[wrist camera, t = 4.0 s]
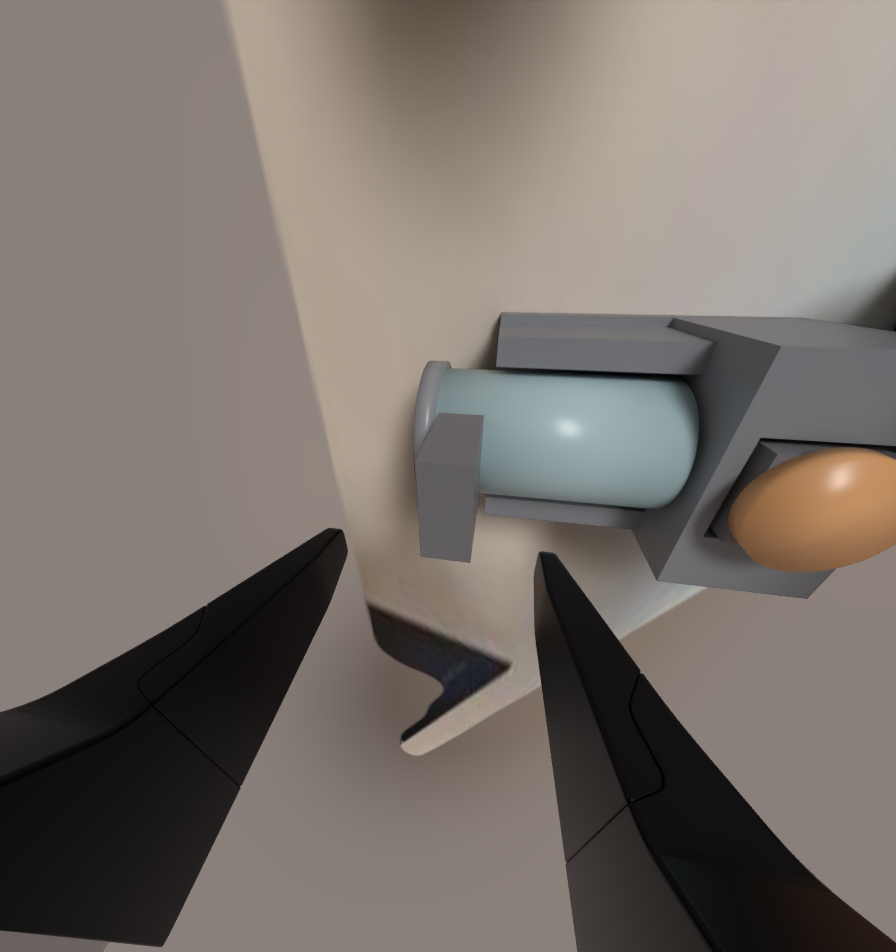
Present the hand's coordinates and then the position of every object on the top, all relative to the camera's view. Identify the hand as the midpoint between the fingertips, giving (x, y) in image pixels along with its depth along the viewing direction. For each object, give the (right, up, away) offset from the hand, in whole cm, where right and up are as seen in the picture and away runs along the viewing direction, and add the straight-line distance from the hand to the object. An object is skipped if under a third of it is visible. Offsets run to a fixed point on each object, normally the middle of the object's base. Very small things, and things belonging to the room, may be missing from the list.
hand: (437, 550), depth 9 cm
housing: (+9, +6, +10) cm, 14 cm away
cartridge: (+5, +6, +9) cm, 12 cm away
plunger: (+13, +3, +4) cm, 14 cm away
